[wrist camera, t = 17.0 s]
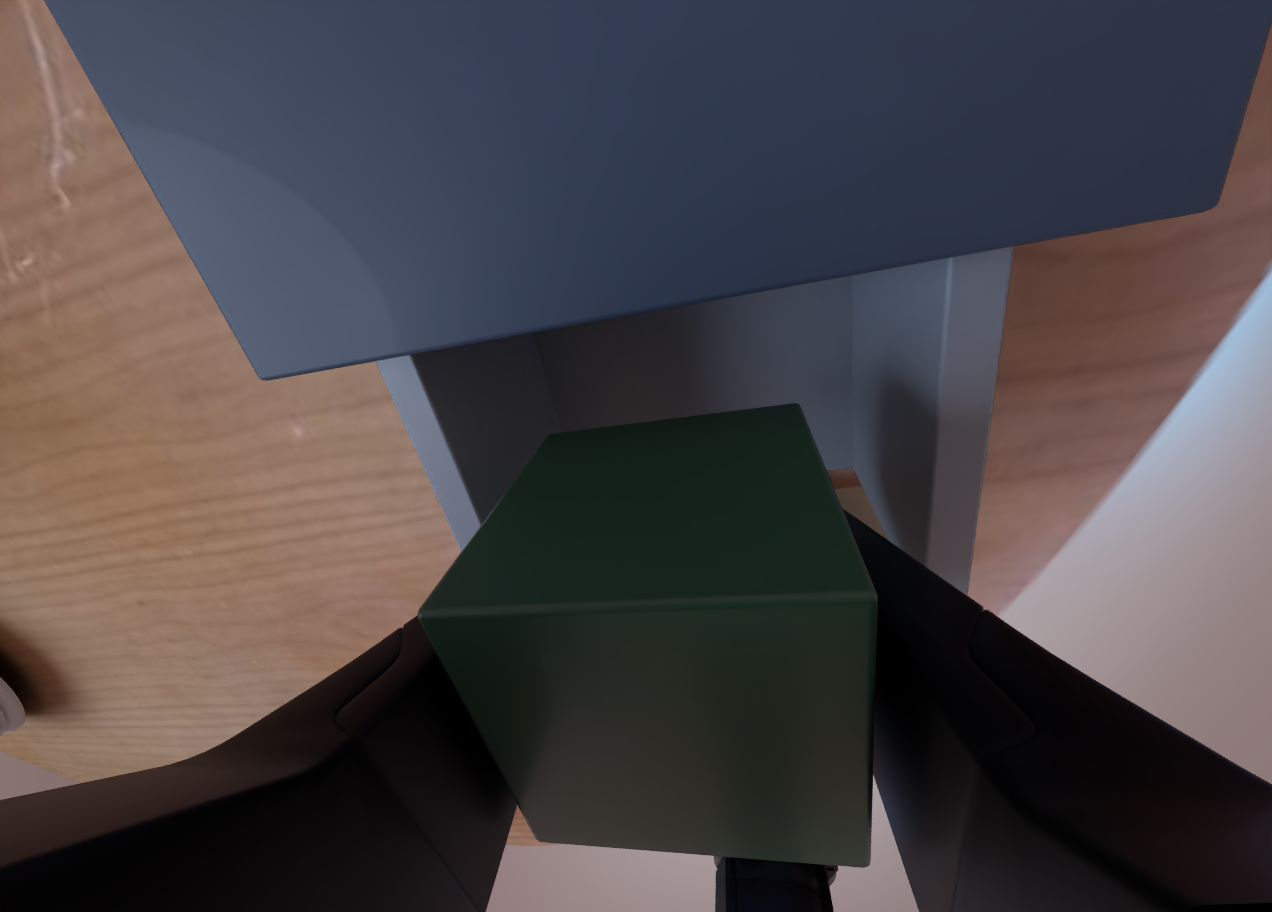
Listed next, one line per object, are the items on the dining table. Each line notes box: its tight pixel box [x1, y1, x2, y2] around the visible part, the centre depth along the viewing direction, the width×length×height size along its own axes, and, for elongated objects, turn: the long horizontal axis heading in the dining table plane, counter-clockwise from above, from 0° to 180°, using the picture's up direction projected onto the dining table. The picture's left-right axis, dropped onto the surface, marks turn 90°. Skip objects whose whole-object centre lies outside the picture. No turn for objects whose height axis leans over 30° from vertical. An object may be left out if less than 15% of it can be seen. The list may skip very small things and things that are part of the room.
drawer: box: [376, 246, 1014, 595], centre depth 12 cm, size 21×11×7 cm, turn 12°
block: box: [418, 403, 878, 868], centre depth 7 cm, size 4×4×4 cm
